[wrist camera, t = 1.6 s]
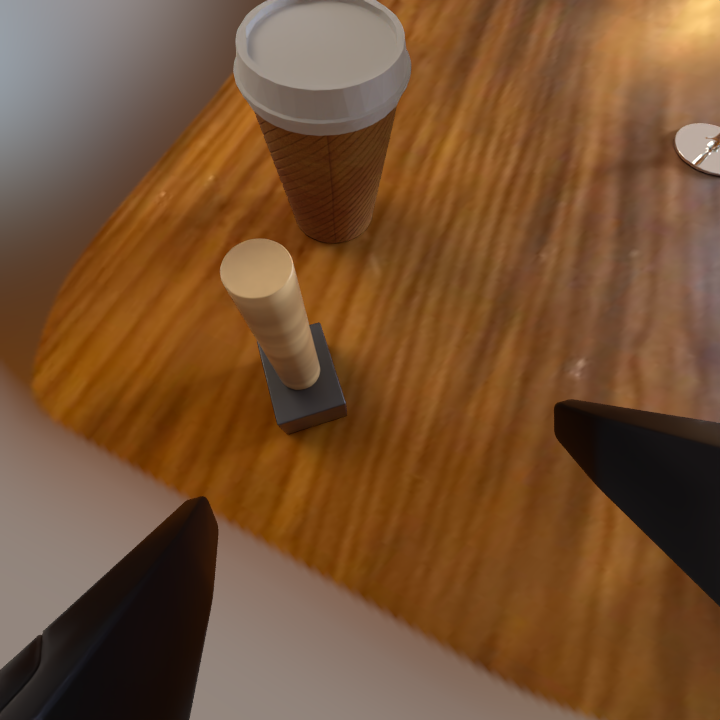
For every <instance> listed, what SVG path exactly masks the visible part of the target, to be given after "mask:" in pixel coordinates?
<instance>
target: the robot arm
mask: <svg viewBox="0 0 720 720" xmlns="http://www.w3.org/2000/svg"><path fill="white" fill-rule="evenodd" d="M554 432H555V435H556V438H557V439H558V441H559V442H560V443H561V444H562V446H563V447H564V448H565V449H566V450H567V451H568V453H569V454H570V455H571V456H572V457H573V459H574V460H575V461H576V462H577V463H578V464H579V466H580V467H581V468H582V469H583V470H584V472H585V473H586V474H587V475H588V476H589V477H590V479H591V480H592V481H593V482H594V483H595V484H596V485H597V486H598V487H599V488H600V489H601V490H602V492H603V493H604V494H605V495H606V496H607V497H608V498H610V499H611V500H612V501H613V502H614V503H615V504H616V505H617V506H618V507H619V508H620V509H621V510H622V511H623V512H624V513H625V514H626V515H627V516H628V517H629V518H630V519H631V520H632V521H633V522H634V523H635V524H636V525H637V526H638V527H639V528H640V529H641V530H642V531H643V532H644V533H645V534H646V535H647V536H648V537H649V538H650V539H651V540H652V541H653V542H654V543H655V544H656V545H657V546H658V547H659V548H660V549H662V550H663V551H664V552H665V553H666V554H667V555H668V556H669V557H670V558H671V559H672V560H673V561H674V562H675V563H676V564H677V565H678V566H679V567H680V568H681V569H682V570H683V571H684V572H685V573H686V574H687V575H688V576H689V577H690V578H691V579H692V580H693V581H694V582H695V583H696V584H697V585H698V586H699V587H700V588H701V589H702V590H703V591H704V592H705V593H706V594H707V595H708V596H709V597H710V598H711V599H712V600H714V601H715V602H716V603H717V604H718V605H719V606H720V423H716V422H710V421H704V420H697V419H691V418H685V417H679V416H673V415H666V414H660V413H654V412H648V411H641V410H635V409H629V408H623V407H617V406H610V405H604V404H598V403H592V402H586V401H579V400H573V399H570V400H566V401H562V402H558V403H557V404H556V405H555V407H554ZM217 544H218V525H217V521H216V519H215V516H214V514H213V511H212V509H211V506H210V504H209V501H208V500H207V498H206V497H204V496H201V497H197V498H193V499H190V500H187V501H185V502H184V503H183V504H182V505H181V506H180V507H179V508H178V509H177V510H176V511H175V512H173V513H172V514H171V515H170V516H169V517H168V518H167V519H166V520H165V521H164V522H162V523H161V524H160V525H159V526H158V527H157V528H156V529H155V530H154V531H153V532H151V534H149V535H148V536H147V537H146V538H145V539H144V540H143V541H142V542H140V543H139V544H138V545H137V546H136V547H135V548H134V549H133V550H132V551H131V552H129V554H127V555H126V556H125V557H124V558H123V559H122V560H121V561H120V562H118V564H116V565H115V566H114V567H113V568H112V569H111V570H110V571H109V572H108V573H106V575H104V576H103V577H102V578H101V579H100V580H99V581H98V582H97V583H95V584H94V585H93V586H92V587H91V588H90V589H89V590H88V591H87V592H86V593H84V595H82V596H81V597H80V598H79V599H78V600H77V601H76V602H75V603H74V604H72V605H71V606H70V607H69V608H68V609H67V610H66V611H65V612H64V613H63V614H61V615H60V616H59V617H58V618H57V619H56V620H55V621H54V622H53V623H52V624H50V625H49V626H48V627H47V628H46V629H45V630H44V631H43V634H42V635H38V636H37V637H36V638H35V639H34V640H33V641H32V642H31V643H30V644H29V645H27V646H26V647H25V648H24V649H23V650H22V651H21V652H20V653H19V654H17V655H16V656H15V657H14V658H13V659H12V660H11V661H10V662H9V663H7V664H6V665H5V666H4V667H3V668H2V669H1V670H0V720H189V718H190V713H191V708H192V703H193V698H194V693H195V687H196V682H197V677H198V672H199V667H200V662H201V657H202V652H203V646H204V641H205V636H206V630H207V626H208V621H209V616H210V611H211V605H212V599H213V591H214V580H215V568H216V555H217Z"/></svg>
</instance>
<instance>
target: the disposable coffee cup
mask: <svg viewBox="0 0 720 720" xmlns="http://www.w3.org/2000/svg"><path fill="white" fill-rule="evenodd" d="M410 74H411V61H410V57H409V54H408V51H407V50H406V45H405V33H404V30H403V27H402V24H401V23H400V21H399V20H398V18H397V17H396V15H395V14H394V13H392V12H391V11H390V10H389V9H388V8H387V7H385V6H384V5H382V4H381V3H379V2H377V1H376V0H268V1H266V2H264V3H262V4H260V5H259V6H257V7H255V8H254V9H253V10H252V11H251V12H250V13H249V14H247V16H246V17H245V19H244V20H243V22H242V24H241V25H240V26H239V28H238V30H237V35H236V58H235V61H234V76H235V80H236V84H237V86H238V88H239V90H240V91H241V93H242V95H243V97H244V98H245V99H246V100H247V102H248V103H249V104H250V106H251V107H252V109H253V110H254V112H255V114H256V117H257V120H258V122H259V124H260V128H261V130H262V132H263V134H264V138H265V141H266V143H267V145H268V148H269V151H270V152H271V156H272V159H273V161H274V164H275V166H276V168H277V172H278V174H279V176H280V179H281V182H282V183H283V187H284V190H286V191H285V192H286V195H287V197H288V200H289V203H290V205H291V208H292V209H293V210H292V211H293V213H294V215H295V218H296V221H297V224H298V225H299V227H300V229H301V230H302V231H303V232H304V233H305V234H307V235H308V236H310V237H311V238H314V239H316V240H318V241H322V242H328V243H337V242H344V241H348V240H351V239H353V238H355V237H357V236H358V235H360V234H361V233H362V232H363V231H365V230H366V228H367V227H368V225H369V224H370V222H371V219H372V214H373V209H374V205H375V201H376V196H377V192H378V187H379V183H380V179H381V174H382V170H383V165H384V160H385V157H386V151H387V148H388V143H389V139H390V134H391V130H392V125H393V121H394V116H395V111H396V106H397V103H398V101H399V99H400V97H401V95H402V94H403V92H404V91H405V89H406V87H407V84H408V82H409V78H410Z"/></svg>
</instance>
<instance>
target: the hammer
mask: <svg viewBox="0 0 720 720" xmlns="http://www.w3.org/2000/svg"><path fill="white" fill-rule="evenodd" d="M220 276H221V280H222V283H223V285H224V286H225V288H226V290H227V291H228V293H229V295H230V296H231V298H232V300H233V301H234V303H235V305H236V306H237V308H238V310H239V311H240V313H241V315H242V316H243V318H244V320H245V321H246V323H247V325H248V326H249V328H250V329H251V331H252V333H253V334H254V336H255V338H256V339H257V344H258V348H259V352H260V356H261V360H262V364H263V368H264V372H265V376H266V381H267V385H268V389H269V393H270V397H271V401H272V405H273V409H274V413H275V417H276V421H277V425H278V426H279V427H280V428H281V429H282V430H283V431H284V432H285V433H286V434H291V433H294V432H297V431H300V430H303V429H306V428H309V427H312V426H316V425H319V424H322V423H325V422H328V421H331V420H334V419H338V418H341V417H344V416H346V415H347V410H346V402H345V399H344V395H343V392H342V389H341V386H340V383H339V380H338V377H337V374H336V371H335V368H334V364H333V361H332V358H331V355H330V352H329V349H328V346H327V343H326V340H325V336H324V333H323V330H322V327H321V324H320V323H315V324H312V325H309V322H308V319H307V315H306V311H305V307H304V303H303V299H302V295H301V292H300V288H299V284H298V280H297V276H296V272H295V268H294V265H293V261H292V258H291V255H290V254H289V252H288V251H287V250H286V249H285V248H284V247H283V246H282V245H280V244H279V243H277V242H275V241H272V240H268V239H252V240H247V241H244V242H242V243H240V244H238V245H236V246H235V247H233V248H232V249H231V250H230V251H229V252H228V253H227V254H226V256H225V257H224V259H223V261H222V264H221V268H220Z"/></svg>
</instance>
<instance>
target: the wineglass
mask: <svg viewBox="0 0 720 720" xmlns="http://www.w3.org/2000/svg"><path fill="white" fill-rule="evenodd" d="M674 147H675V150H676V152H677V153H678V155H679V156H680V157H681V158H682V159H683V160H684V161H685V162H686V163H687V164H689V165H690V166H692V167H693V168H695V169H697V170H699V171H701V172H704V173H707V174H711V175H717V176H720V127H718V126H715V125H711V124H704V123H696V124H690V125H687V126H684V127H683V128H681V129H680V130H679V131H678V132H677V133H676V135H675V137H674Z"/></svg>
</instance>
